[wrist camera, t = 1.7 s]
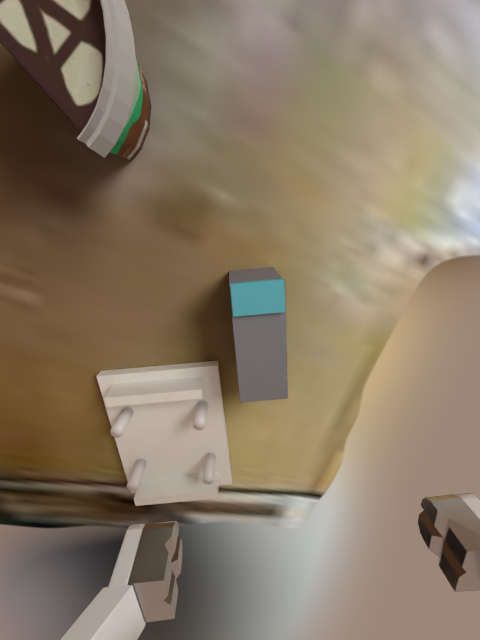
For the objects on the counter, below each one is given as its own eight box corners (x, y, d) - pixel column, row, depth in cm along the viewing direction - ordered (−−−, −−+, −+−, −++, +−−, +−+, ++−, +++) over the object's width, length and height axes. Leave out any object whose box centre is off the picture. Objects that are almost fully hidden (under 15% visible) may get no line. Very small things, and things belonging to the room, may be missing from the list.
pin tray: (217, 360, 29) (216, 382, 25) (232, 476, 34) (232, 508, 31) (100, 371, 29) (81, 394, 25) (133, 485, 34) (122, 518, 31)
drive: (272, 264, 26) (285, 279, 20) (276, 363, 29) (288, 401, 23) (228, 268, 26) (228, 284, 20) (238, 366, 29) (240, 405, 23)
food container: (202, 120, 22) (181, 47, 12) (145, 177, 23) (86, 149, 13) (73, -56, 18) (-95, -348, 9) (14, 21, 19) (-190, -163, 10)
